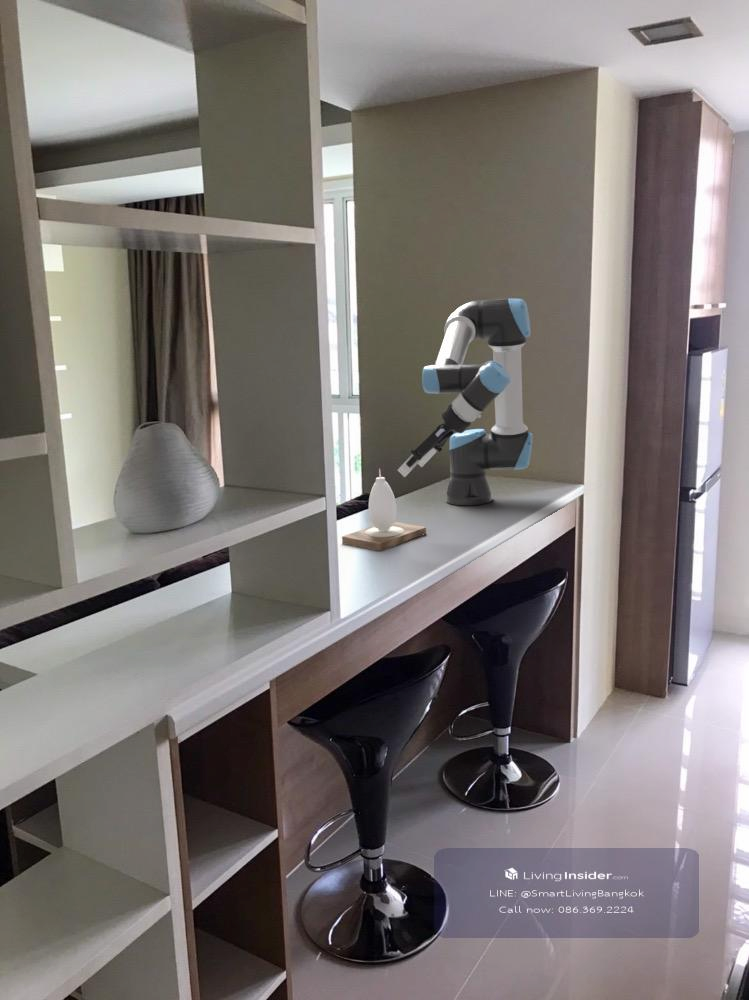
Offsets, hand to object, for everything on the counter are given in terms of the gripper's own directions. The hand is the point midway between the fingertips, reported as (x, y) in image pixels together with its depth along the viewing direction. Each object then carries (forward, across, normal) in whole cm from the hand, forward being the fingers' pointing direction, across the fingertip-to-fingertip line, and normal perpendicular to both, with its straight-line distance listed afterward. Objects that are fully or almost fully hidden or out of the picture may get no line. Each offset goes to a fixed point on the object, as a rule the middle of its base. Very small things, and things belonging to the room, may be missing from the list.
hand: (410, 468), depth 227 cm
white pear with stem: (+19, 0, -7) cm, 20 cm away
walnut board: (+21, 0, -8) cm, 22 cm away
